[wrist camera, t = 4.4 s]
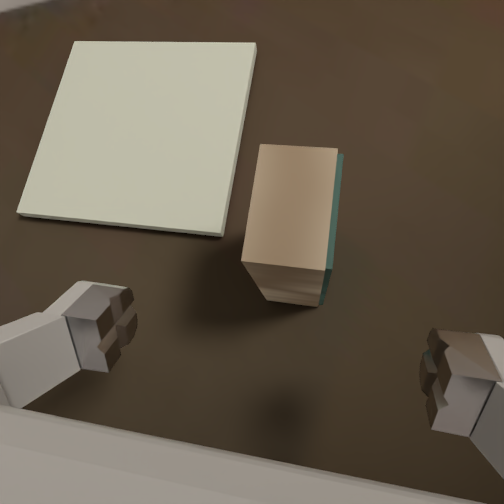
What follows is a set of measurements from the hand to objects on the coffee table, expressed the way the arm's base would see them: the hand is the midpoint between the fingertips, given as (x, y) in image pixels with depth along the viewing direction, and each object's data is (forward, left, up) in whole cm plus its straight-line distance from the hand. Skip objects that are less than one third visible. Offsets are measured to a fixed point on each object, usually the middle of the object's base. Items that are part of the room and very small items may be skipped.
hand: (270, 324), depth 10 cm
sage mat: (+10, -11, -8) cm, 17 cm away
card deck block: (0, -4, -8) cm, 9 cm away
